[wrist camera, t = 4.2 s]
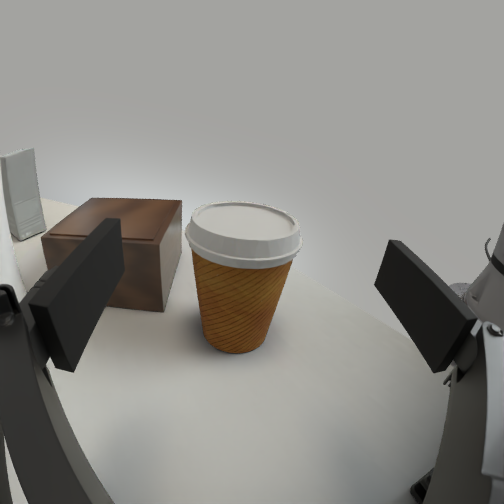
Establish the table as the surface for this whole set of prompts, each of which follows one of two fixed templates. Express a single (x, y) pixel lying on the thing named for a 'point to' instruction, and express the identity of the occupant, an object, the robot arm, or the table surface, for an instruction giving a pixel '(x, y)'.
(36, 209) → the cosmetic box
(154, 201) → the walnut riser
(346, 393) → the table surface
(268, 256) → the disposable coffee cup
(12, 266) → the spray bottle
